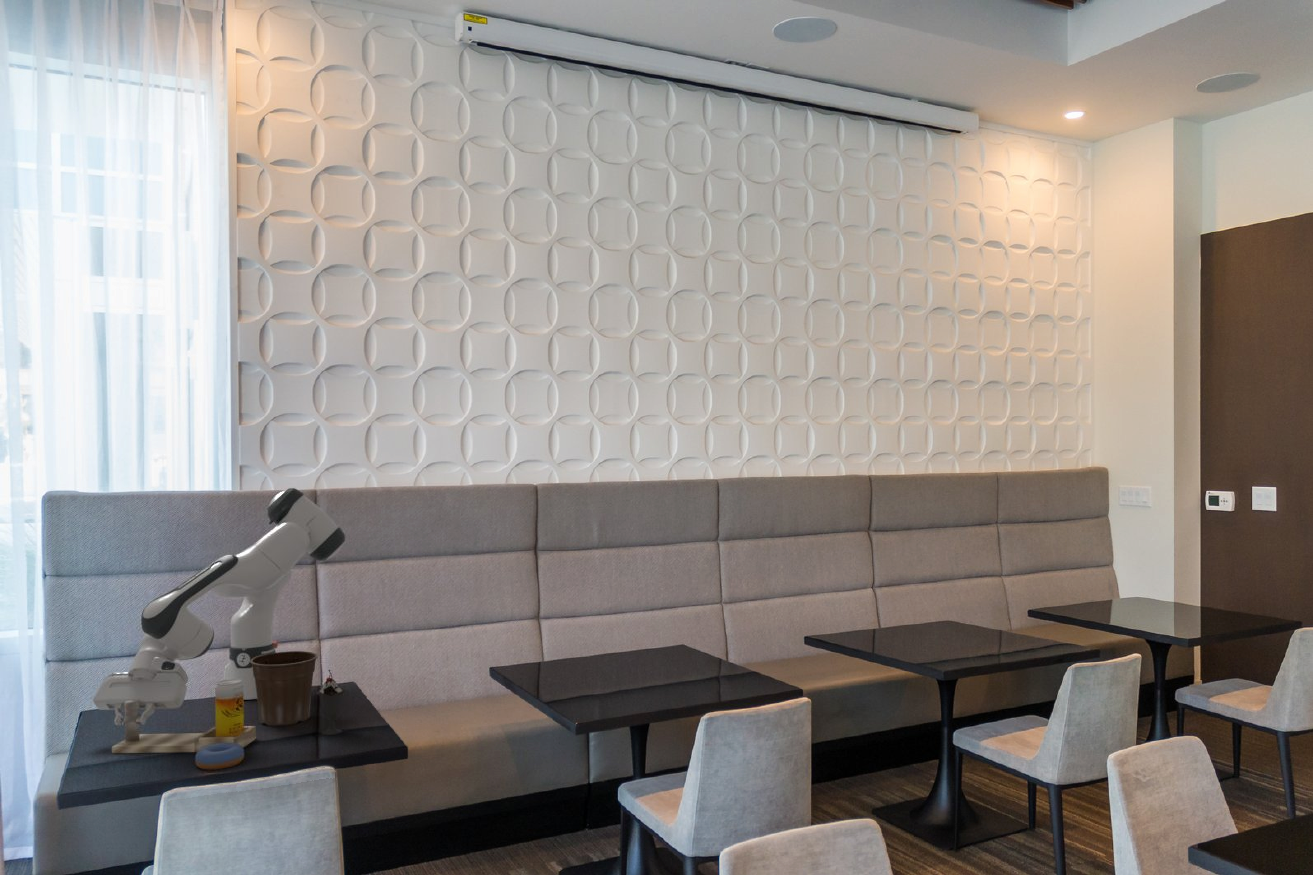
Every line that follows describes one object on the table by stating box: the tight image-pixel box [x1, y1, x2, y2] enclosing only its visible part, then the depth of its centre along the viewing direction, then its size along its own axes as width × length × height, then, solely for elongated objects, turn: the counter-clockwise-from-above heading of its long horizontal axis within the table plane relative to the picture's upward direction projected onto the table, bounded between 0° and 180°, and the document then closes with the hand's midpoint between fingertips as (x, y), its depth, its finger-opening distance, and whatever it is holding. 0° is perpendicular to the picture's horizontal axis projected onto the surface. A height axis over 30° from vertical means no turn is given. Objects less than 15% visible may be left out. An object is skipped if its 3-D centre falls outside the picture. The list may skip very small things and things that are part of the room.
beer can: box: [214, 679, 245, 737], centre depth 231 cm, size 6×6×15 cm
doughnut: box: [195, 743, 245, 771], centre depth 218 cm, size 10×10×5 cm
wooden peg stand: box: [111, 700, 257, 754], centre depth 231 cm, size 29×10×10 cm, turn 90°
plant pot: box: [250, 650, 318, 727], centre depth 253 cm, size 16×16×16 cm
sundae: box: [316, 669, 346, 736], centre depth 241 cm, size 7×7×15 cm
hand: (128, 723), depth 231 cm, fingers open, 4 cm apart
